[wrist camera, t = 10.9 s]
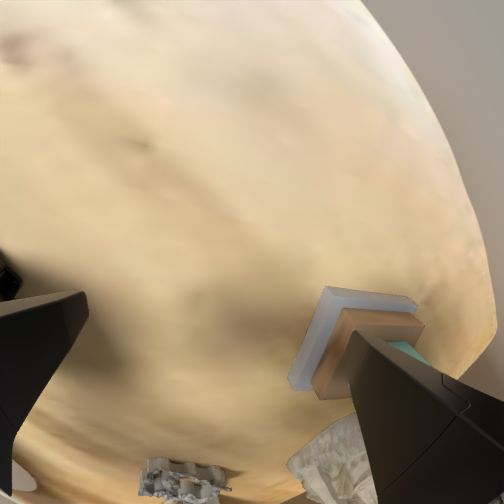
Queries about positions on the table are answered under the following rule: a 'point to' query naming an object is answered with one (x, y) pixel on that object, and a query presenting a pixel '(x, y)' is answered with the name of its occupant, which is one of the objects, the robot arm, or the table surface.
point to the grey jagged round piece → (336, 465)
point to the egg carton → (183, 490)
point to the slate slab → (326, 321)
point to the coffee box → (174, 503)
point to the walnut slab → (333, 359)
